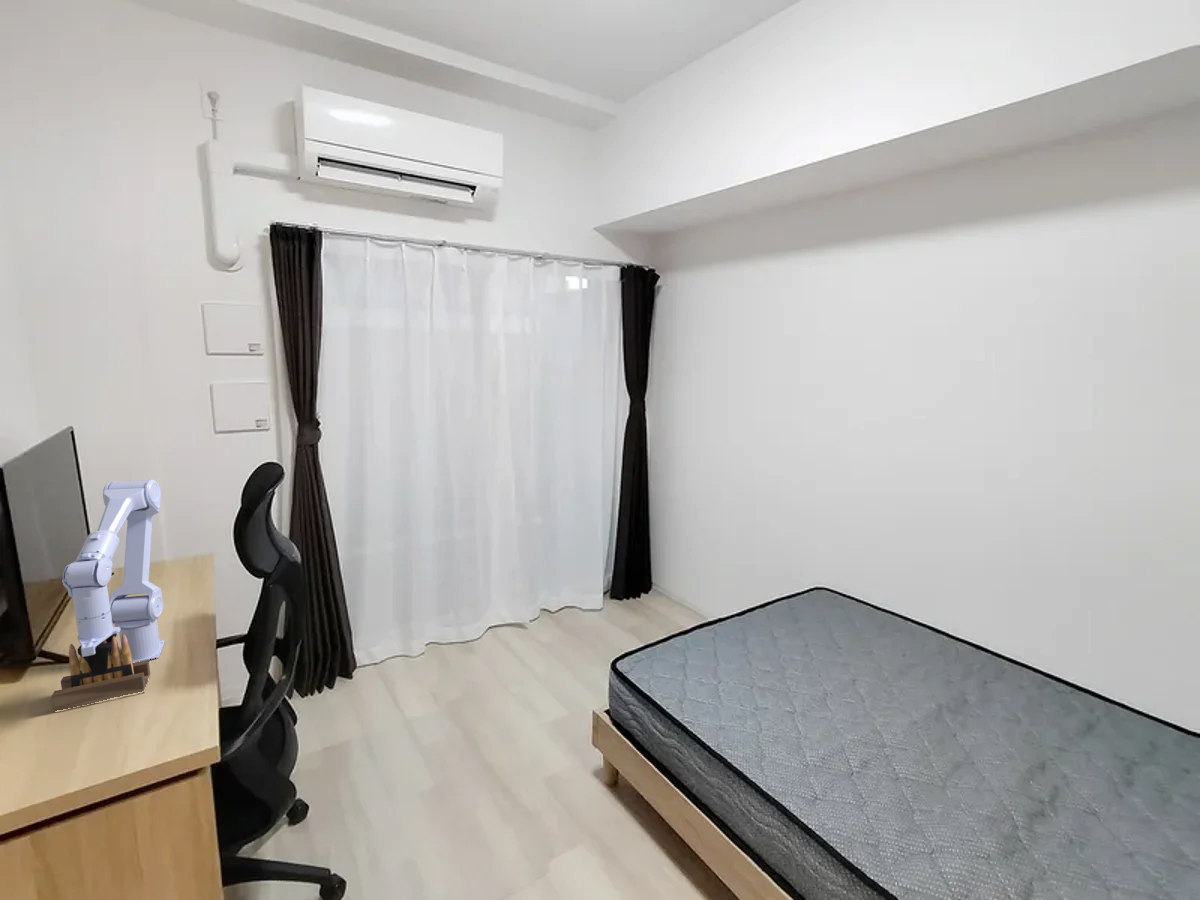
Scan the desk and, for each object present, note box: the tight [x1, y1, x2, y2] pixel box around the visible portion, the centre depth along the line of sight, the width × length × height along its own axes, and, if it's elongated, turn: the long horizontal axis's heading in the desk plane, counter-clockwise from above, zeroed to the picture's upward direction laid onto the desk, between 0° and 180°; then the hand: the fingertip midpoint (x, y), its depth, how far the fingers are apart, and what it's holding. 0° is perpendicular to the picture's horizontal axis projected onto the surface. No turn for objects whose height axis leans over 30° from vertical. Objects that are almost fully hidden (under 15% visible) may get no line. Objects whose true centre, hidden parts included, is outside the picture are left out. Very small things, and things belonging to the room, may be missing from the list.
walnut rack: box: [51, 660, 151, 712], centre depth 127 cm, size 8×15×4 cm, turn 120°
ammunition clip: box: [68, 634, 135, 687], centre depth 126 cm, size 11×2×12 cm, turn 120°
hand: (101, 670), depth 126 cm, fingers closed on ammunition clip, 2 cm apart
